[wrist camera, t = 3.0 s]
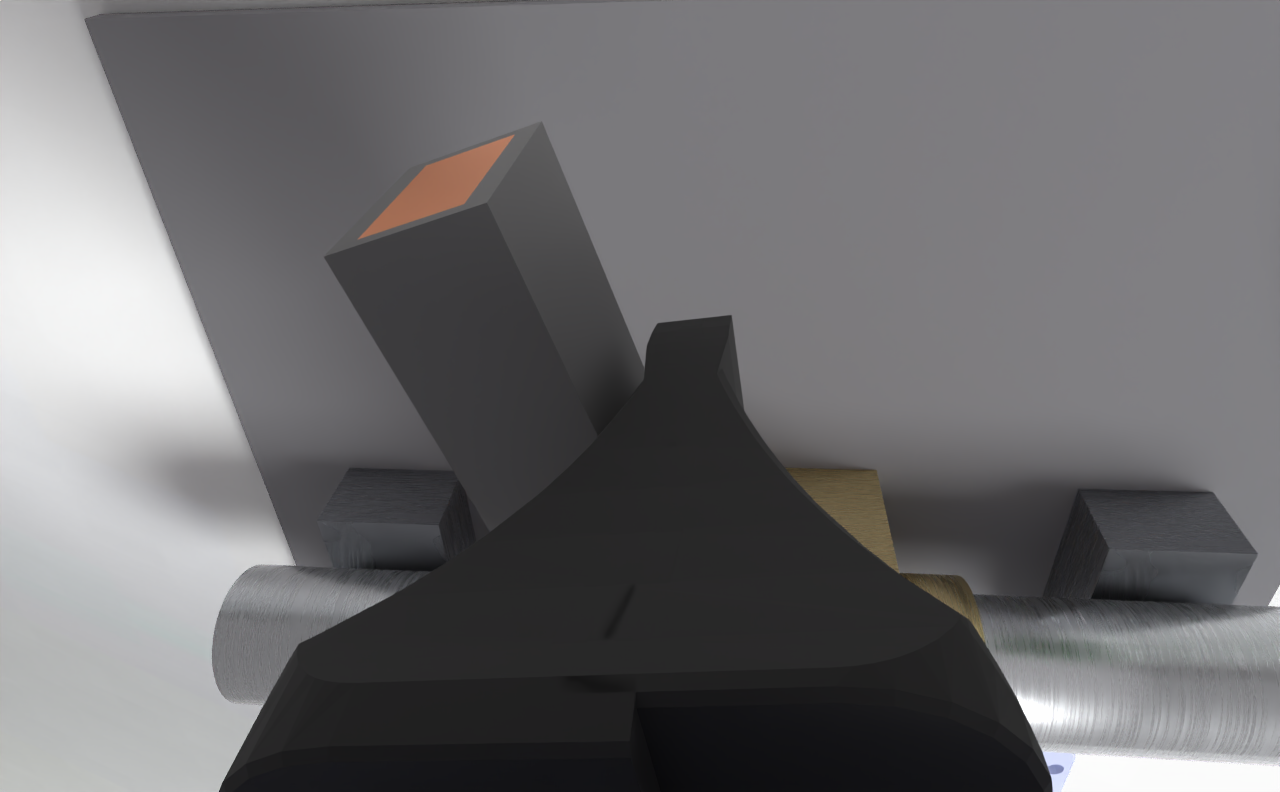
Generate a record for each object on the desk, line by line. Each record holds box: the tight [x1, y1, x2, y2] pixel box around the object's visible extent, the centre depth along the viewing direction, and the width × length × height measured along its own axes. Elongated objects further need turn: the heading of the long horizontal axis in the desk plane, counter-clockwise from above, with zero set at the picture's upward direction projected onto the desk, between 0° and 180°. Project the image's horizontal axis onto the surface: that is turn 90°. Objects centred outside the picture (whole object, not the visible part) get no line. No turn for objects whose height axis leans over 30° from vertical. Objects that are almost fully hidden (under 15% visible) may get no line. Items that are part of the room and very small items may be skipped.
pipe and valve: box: [212, 468, 1280, 766], centre depth 19 cm, size 5×24×6 cm, turn 92°
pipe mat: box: [85, 0, 1280, 606], centre depth 19 cm, size 18×26×1 cm
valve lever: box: [324, 121, 645, 532], centre depth 12 cm, size 14×2×3 cm, turn 20°
